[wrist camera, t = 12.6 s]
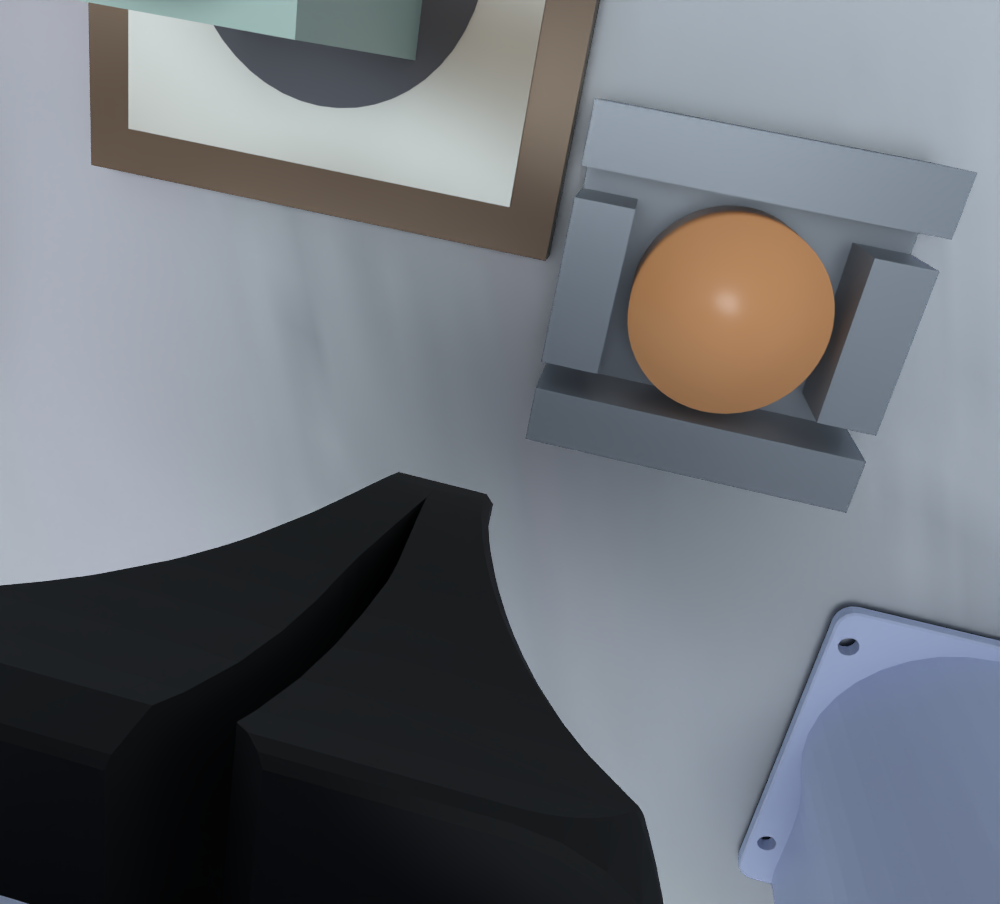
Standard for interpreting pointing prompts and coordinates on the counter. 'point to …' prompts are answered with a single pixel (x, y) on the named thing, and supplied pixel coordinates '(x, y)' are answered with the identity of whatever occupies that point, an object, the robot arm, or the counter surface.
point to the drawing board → (356, 116)
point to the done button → (729, 310)
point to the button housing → (816, 219)
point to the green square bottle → (303, 20)
